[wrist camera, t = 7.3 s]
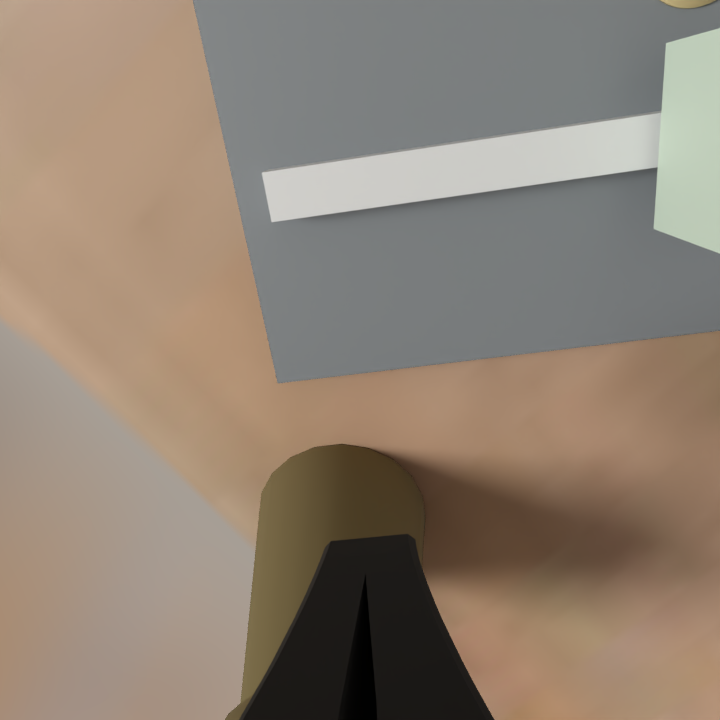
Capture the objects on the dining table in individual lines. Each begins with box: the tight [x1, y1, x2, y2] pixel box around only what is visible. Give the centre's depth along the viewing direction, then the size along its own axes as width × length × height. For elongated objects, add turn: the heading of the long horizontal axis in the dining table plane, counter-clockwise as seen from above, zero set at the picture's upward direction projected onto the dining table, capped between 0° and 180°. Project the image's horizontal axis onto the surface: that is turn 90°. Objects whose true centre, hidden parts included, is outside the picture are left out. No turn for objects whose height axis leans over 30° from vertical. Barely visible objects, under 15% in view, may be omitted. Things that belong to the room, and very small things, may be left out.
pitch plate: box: [193, 0, 720, 383], centre depth 12 cm, size 12×22×6 cm, turn 98°
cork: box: [225, 444, 425, 720], centre depth 15 cm, size 6×6×11 cm
